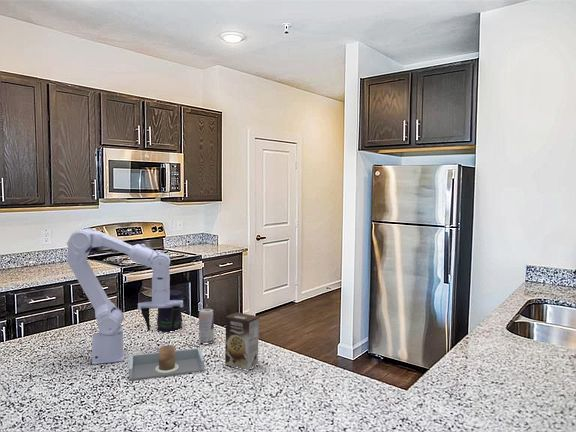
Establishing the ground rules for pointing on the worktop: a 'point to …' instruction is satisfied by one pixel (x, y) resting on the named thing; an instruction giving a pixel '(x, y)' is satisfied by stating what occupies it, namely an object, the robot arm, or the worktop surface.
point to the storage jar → (169, 315)
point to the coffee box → (241, 340)
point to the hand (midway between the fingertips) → (160, 329)
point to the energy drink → (206, 326)
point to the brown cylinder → (166, 358)
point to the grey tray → (149, 368)
